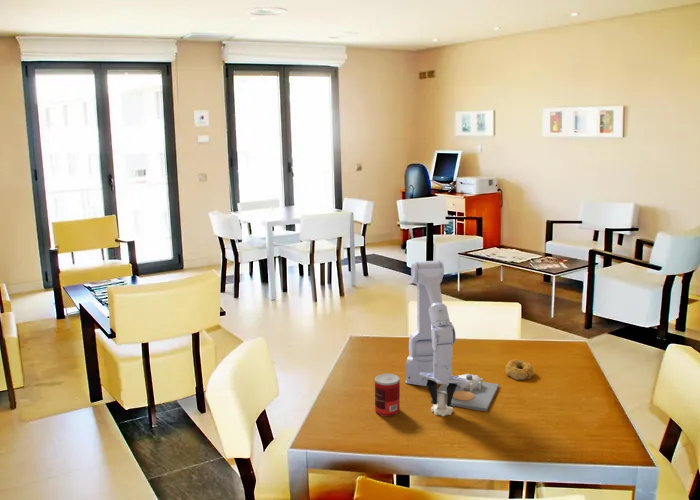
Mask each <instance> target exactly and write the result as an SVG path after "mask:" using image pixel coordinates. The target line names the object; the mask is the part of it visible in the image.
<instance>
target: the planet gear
mask: <svg viewBox="0 0 700 500" xmlns="http://www.w3.org/2000/svg"><path fill="white" fill-rule="evenodd" d="M446 404H447V393H446V392H445V391H439V392H438V401H437V403H436V404H432V406H431V407H430V412H431V413H433V414H434V415H435V416H441V417H445V416H448V415H449V416H451V415H452V413H453V410H454V408H453V407H454V406H452V407H451V406H450V407H447V405H446Z"/></svg>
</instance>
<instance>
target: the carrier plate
mask: <svg viewBox="0 0 700 500" xmlns="http://www.w3.org/2000/svg"><path fill="white" fill-rule="evenodd" d="M457 377H460V378H464V379H466V386H465V387H462V386H460V385H457V387H456V389H455V392H454V394H453V397H452V400H451V405H450V407H451V406H452V407H456V408H463V409H469V410H475V411H481V412H487V411H488V409H489V407H490V405H491V403H492V402H493V400H494V397H495V395H496V393H497V391H498V389H499V386H500V385H499V383H493V382H487V381H483V377H481V378H480V377H479V375H477V374H475V375H474V374H469V373H465V374H461V375H460V374H458V375H457ZM448 385H449V384H447V383H442V384H440V386H439V387H438V388H437V401H438V392H439V391H445V392H446V393H447V386H448ZM430 403H432V404H433V400H432V398H430ZM446 405H447V404H446Z"/></svg>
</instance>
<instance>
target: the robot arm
mask: <svg viewBox="0 0 700 500" xmlns="http://www.w3.org/2000/svg"><path fill="white" fill-rule="evenodd" d="M410 270H411V271H410V272H411V275H410V276H411V277H410V278H411V283H412V284H415V285H416V293H417V294H416V297H417V299H416V301H417V305H416V308H417V311H416V313H417V317H416V318H417V321H416V322H417V323H416V324H417V329H416V330H415V331H412V332H411V334H409V338H408V339H409V340H408V353H409V355H408V357H407V358H406V362H405V381H404V383H405V384H410V385H417V386H422V387H426V388H427V390H428V391H429V393H430V396H431V399H432V400H433V403H432V405H434V404H435V405H436V404H437V390H438V385H439V384H440V385H441V384H442V383H447V384H449V385H448V386H447V407H451V406H450V405H451V400H452V397H453V394H454V392H455V389H456V387H457V385H460V386H462V387H465V386H466V379H464V378H460V377H458V375H453V344H455V343H456V339H457V338H456V330H455V326H454V325H453V322H452V321H451V320H450V316H449V312H448V307H447V305H445V303H443V299H442V298H443V297H442V291H441V283H442V281H443V277H444V274H445V267H444V263H443V262H442V260H440V259H438V260H423V261H416V260H414V261H413V262H412V264H411V269H410Z"/></svg>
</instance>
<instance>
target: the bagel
mask: <svg viewBox="0 0 700 500" xmlns="http://www.w3.org/2000/svg"><path fill="white" fill-rule="evenodd" d="M505 374H506V376H508V377H509V378H511V379H513V380H515V381H524V380H526V379H531V378H532V377H534V376H535V373H534V367H533V366H532V365H531V363H529V362H528V361H524V360H522V359H517V358H515V359H511V360H509V361H508V362H507V364H506V365H505Z"/></svg>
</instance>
